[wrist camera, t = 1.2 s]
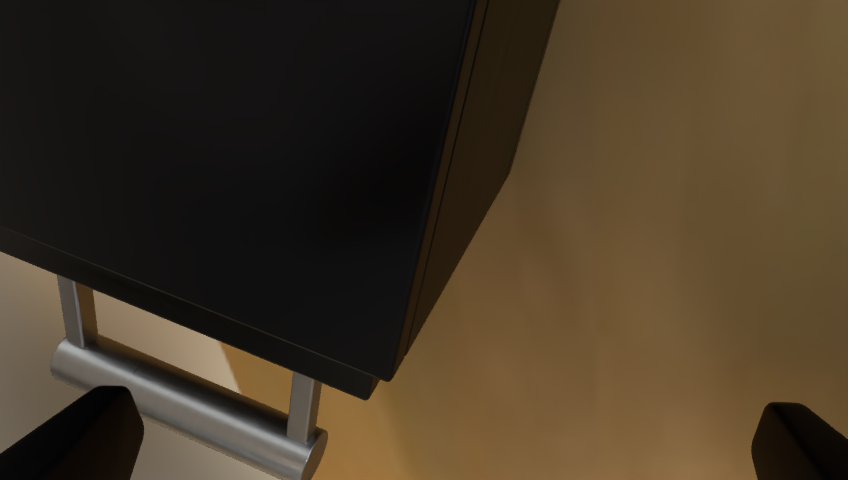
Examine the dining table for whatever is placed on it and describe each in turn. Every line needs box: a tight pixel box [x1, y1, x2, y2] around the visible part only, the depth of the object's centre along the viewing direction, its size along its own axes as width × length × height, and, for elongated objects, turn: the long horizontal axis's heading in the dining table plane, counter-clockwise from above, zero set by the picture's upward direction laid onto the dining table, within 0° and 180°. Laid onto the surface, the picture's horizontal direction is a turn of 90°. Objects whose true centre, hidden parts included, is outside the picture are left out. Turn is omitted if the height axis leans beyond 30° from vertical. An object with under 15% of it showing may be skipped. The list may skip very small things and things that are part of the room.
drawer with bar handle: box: [0, 227, 380, 480], centre depth 16 cm, size 18×11×9 cm, turn 169°
